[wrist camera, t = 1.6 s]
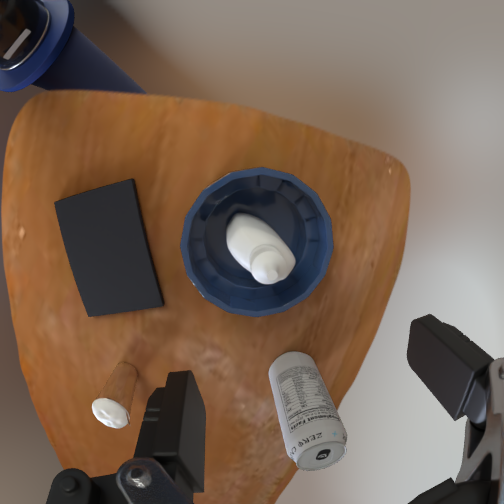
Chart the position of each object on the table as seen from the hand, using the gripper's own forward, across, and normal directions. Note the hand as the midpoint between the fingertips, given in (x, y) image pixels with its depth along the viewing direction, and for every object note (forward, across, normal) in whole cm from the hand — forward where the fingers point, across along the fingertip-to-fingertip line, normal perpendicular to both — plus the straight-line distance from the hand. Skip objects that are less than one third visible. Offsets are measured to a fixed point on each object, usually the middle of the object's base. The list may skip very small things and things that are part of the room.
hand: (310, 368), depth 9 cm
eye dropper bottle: (+22, 0, 0) cm, 22 cm away
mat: (+22, +16, -1) cm, 27 cm away
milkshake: (+22, +19, +15) cm, 33 cm away
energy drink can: (+22, -2, +18) cm, 29 cm away
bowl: (+22, 0, 0) cm, 22 cm away
